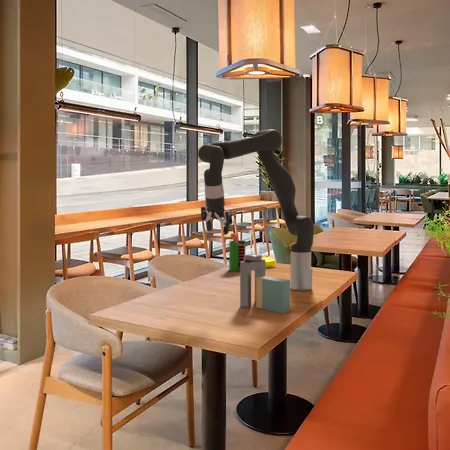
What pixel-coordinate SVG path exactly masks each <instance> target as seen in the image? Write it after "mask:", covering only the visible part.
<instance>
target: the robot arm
mask: <svg viewBox="0 0 450 450" xmlns="http://www.w3.org/2000/svg"><path fill="white" fill-rule="evenodd" d="M282 143H283V138H282V135H281V133H280V132H279V131H278V130H276V129H263V130H258V131H256V132H255V133H254V135H253V136H250V137H244V138H238V139H232V140H227V141H223V142H210V143H206V144H203V145H202V146H200V147H199V149H198V152H197V157H198V158H199V160H200V161H202V162H204V163H208V164H209V168H207V169H205V170H204V172H203V180H204V199H205V205H203V206H201V207H200V220H201V221H202V222H203V221H204V222H205V228H206V231H207V232H211V231H212V229H213V227H212V226H213V225H212V221H211V220H215V221H216V220H217V221H219V223H221V224H222V228H223V229H222V230H223V231H222V232H223V235H224V236H226V235H228V234H229V233H230V228H229V227H230V225H233V215H232V214H233V213H232V210H231V209H228V210H226V209H225V205H226V204H225V202H226V201H225V191H224V185H223V184H224V183H223V174H222V173H223V169H224V164H225V160H231V159H235V158H239V157H243V156H246V155H249V154H253V153H257V155H258V157H259V159H260V162H261V163H262V165H263V167H264V169H265V171H266V174H267V177H268V179H269V181H270V183H271V187H272V189H273V191H274V194H275V196H276V198H277V201H278V204H279V206H280V209H281V211H282V215H283V218H284V222H285V225H286V229H287V231H288V232H289V233H290V235H292V236H296V241H295V243H292V244H291V245H290V268H289V269H290V273H289V274H290V275H289V276H290V279H289V280H290V290H295V291H308V290H313V268H312V247H313V244H314V234H315V233H314V230H315V226H314V221H313V219H312V218H311V217H309V216H305V215H300V214H299V212H298V210H297V208H296V203H295V201H296V194H297V193H296V192H297V191H296V186H295V185H296V184H295V182H294V179H293V177H292V175H291V173H290V172H289V170H287V168H285V167H284V166H283V165H282V164H281V162H279V161H278V159H277V158H276V156H275V154H274V152H275V151H277V150H278V149H280V148H281V147H282Z"/></svg>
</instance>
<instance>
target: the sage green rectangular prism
mask: <svg viewBox="0 0 450 450" xmlns="http://www.w3.org/2000/svg"><path fill="white" fill-rule="evenodd" d="M255 308H257V309H262V310H267V311H271V312H275V313H280V314H285V313H288V312H291V288H290V279H285V278H280V277H279V278H278V277H274V276H273V277H272V276H267V275H265V276H260V277H256V302H255Z"/></svg>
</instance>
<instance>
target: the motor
mask: <svg viewBox="0 0 450 450" xmlns="http://www.w3.org/2000/svg"><path fill="white" fill-rule="evenodd" d="M230 238H234V240H230V241H229V247H228V250H229V252H228V253H229V255H228V258H229V259H228V260H229V261H228V270H229V271H230V272H235V273H236V272H237V273H238V272H240V262H242V261H244V255H246V240H243V239H242V240H239V238H238V234H237V233H230Z"/></svg>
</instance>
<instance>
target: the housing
mask: <svg viewBox="0 0 450 450" xmlns="http://www.w3.org/2000/svg"><path fill="white" fill-rule="evenodd" d="M253 270H254V303H256V277H260V276H266V268H265V259H262V254H258V253H257V254H255V253H250V254H248V253H247V254H245V255H244V261H242V262H240V271H239V282H240V283H239V287H240V288H239V289H240V290H239V293H240V294H239V296H240V297H239V302H240V303H239V304H240V308H246V309H249V308H252V271H253Z"/></svg>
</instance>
